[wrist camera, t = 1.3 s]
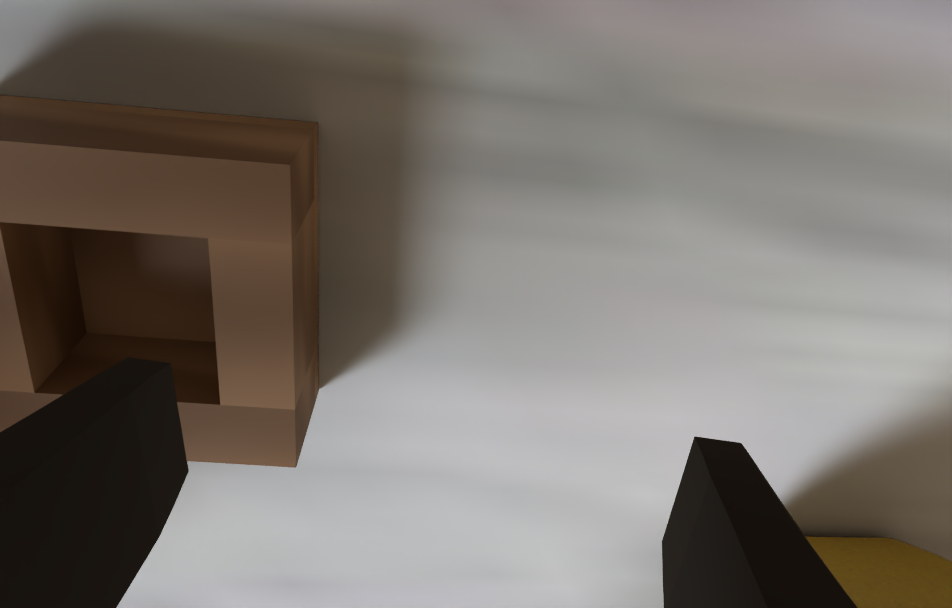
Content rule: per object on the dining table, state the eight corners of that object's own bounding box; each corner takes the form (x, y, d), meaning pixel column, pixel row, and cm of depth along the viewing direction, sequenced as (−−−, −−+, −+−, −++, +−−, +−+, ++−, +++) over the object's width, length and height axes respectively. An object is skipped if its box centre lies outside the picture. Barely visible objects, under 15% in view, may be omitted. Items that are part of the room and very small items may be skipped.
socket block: (318, 390, 23) (296, 467, 20) (40, 371, 22) (-28, 448, 19) (318, 122, 19) (289, 164, 16) (-15, 93, 18) (-111, 131, 15)
